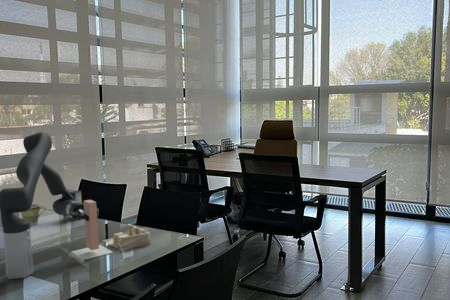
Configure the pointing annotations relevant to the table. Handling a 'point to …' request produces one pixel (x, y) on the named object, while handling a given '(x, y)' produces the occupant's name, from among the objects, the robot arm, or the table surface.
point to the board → (91, 225)
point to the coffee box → (77, 197)
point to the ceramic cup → (32, 214)
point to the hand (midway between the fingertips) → (92, 217)
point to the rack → (132, 238)
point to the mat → (89, 253)
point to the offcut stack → (118, 239)
